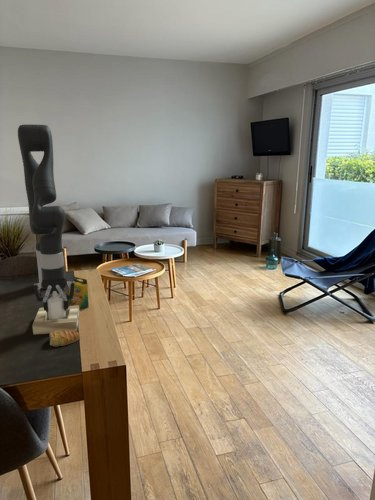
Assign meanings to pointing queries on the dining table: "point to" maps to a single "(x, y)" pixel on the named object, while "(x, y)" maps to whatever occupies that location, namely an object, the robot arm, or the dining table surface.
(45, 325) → the hollow square block
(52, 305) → the eye dropper bottle
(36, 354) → the dining table surface
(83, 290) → the crayon box
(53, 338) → the pastry
